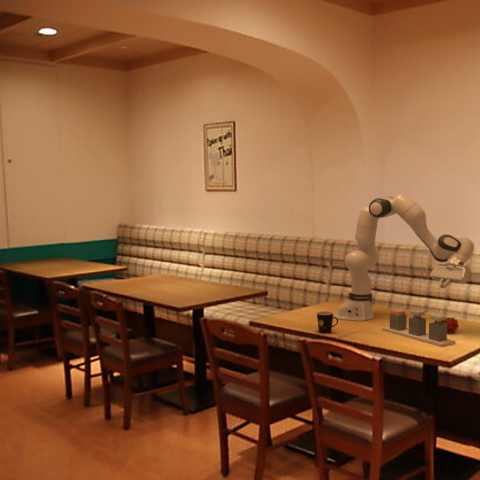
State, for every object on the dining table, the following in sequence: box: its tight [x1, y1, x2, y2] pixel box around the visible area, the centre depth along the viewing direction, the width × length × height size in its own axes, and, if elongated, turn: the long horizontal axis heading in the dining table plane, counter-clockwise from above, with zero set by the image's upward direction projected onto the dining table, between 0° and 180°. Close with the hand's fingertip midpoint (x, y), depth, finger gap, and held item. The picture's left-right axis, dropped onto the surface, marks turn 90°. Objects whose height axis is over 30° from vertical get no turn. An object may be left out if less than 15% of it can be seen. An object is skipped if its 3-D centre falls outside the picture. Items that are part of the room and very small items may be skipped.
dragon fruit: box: [442, 316, 460, 334], centre depth 318 cm, size 8×8×12 cm
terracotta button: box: [390, 308, 406, 315], centre depth 320 cm, size 5×5×5 cm
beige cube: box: [409, 309, 426, 319], centre depth 309 cm, size 5×5×5 cm
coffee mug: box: [316, 310, 339, 334], centre depth 321 cm, size 12×9×10 cm
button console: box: [381, 313, 456, 348], centre depth 310 cm, size 38×10×10 cm, turn 33°
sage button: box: [430, 314, 447, 325], centre depth 299 cm, size 5×5×5 cm
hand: (442, 287), depth 309 cm, fingers closed
